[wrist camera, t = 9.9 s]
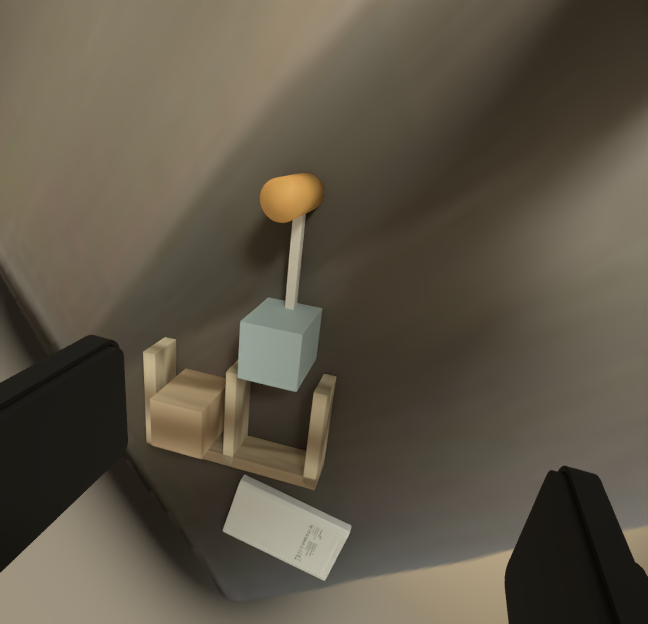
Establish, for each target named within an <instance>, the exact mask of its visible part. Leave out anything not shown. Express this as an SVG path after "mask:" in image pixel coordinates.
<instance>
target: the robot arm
mask: <svg viewBox="0 0 648 624" xmlns="http://www.w3.org/2000/svg"><path fill="white" fill-rule="evenodd" d="M127 444H128V434H127V413H126V392H125V371H124V355H123V351H122V350H121V349H119V345H118V344H117V342H115V341H114V340H110V339H106V338H103V337H99V336H96V335H89V336H86V337H84V338H82V339H80V340H78V341H77V342H75V343H73V344H71V345H69V346H67V347H66V348H64V349H62V350H60V351H58V352H56V353H54V354H53V355H51V356H49V357H47V358H46V359H43V360H42V361H40V362H38V363H36V364H34V365H32V366H31V367H29V368H27V369H25V370H23V371H21V372H19V373H18V374H16V375H14V376H12V377H10V378H9V379H7V380H5V381H3V382H1V383H0V572H2V571H3V569H5V568H6V567H7V566H8V565H9V564H10V563H11V562H12V561H13V560H14V559H15V558H16V557H17V556H18V555H19V554H20V553H21V552H22V551H23V550H24V549H26V548H27V546H28V545H30V544H31V543H32V542H33V541H34V540H35V539H36V538H37V537H38V536H39V535H40V534H41V533H42V532H43V531H44V530H45V529H46V528H47V527H48V526H50V525H51V523H53V522H54V521H55V520H56V519H57V518H58V517H59V516H60V515H61V514H62V513H63V512H64V511H65V510H66V509H67V508H68V507H69V506H70V505H71V504H72V503H74V502H75V501H76V500H77V499H78V498H79V497H80V496H81V495H82V494H83V493H84V492H85V491H86V490H87V489H88V488H89V487H90V486H91V485H92V484H93V483H94V482H95V481H96V480H98V478H100V476H102V474H104V473H105V472H106V471H107V470H108V469H109V468H110V467H111V466H112V465H113V464H114V463H115V462H116V461H117V460H118V459H119V458H120V457H121V456H122V455H123V454H124V452H125V450H126V448H127ZM505 593H506V602H507V611H508V620H509V624H648V576H647V575H646V573H645V571H644V570H643V568H642V567H641V566H640V565H638V564H637V563H635V561H634V559H633V556H632V554H631V552H630V549H629V547H628V544H627V542H626V539H625V537H624V535H623V532H622V530H621V528H620V525H619V523H618V520H617V518H616V516H615V513H614V511H613V508H612V506H611V504H610V501H609V499H608V497H607V494H606V492H605V489H604V487H603V485H602V482H601V480H600V478H599V477H598V476H597V475H596V474H593V473H589V472H586V471H582V470H578V469H575V468H571V467H568V466H562V467H561V468H560V469H559V471H558V472H557V471H553V470H550V471H549V472H548V474H547V475H546V478H545V480H544V482H543V484H542V487H541V489H540V491H539V494H538V496H537V498H536V500H535V503H534V505H533V507H532V510H531V512H530V514H529V516H528V519H527V521H526V523H525V526H524V528H523V530H522V532H521V535H520V537H519V539H518V542H517V544H516V546H515V548H514V551H513V553H512V555H511V558H510V560H509V562H508V565H507V568H506V572H505Z"/></svg>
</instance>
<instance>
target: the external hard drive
mask: <svg viewBox="0 0 648 624" xmlns="http://www.w3.org/2000/svg"><path fill="white" fill-rule="evenodd" d="M350 531H351V525H349V524H347V523H345V522H343V521H341V520H339V519H337V518H335V517H332V516H330V515H328V514H326V513H324V512H322V511H320V510H318V509H316V508H314V507H312V506H310V505H307V504H305V503H303V502H301V501H299V500H297V499H295V498H293V497H291V496H289V495H287V494H285V493H282V492H280V491H278V490H276V489H274V488H272V487H270V486H268V485H266V484H264V483H262V482H260V481H258V480H256V479H253V478H251V477H249V476H247V475H245V474H244V475H243V477H242V479H241V480H240V483H239V486H238V488H237V491H236V494H235V497H234V500H233V502H232V505H231V508H230V511H229V514H228V517H227V519H226V522H225V525H224V528H223V532H225V533H227V534H229V535H231V536H233V537H235V538H237V539H239V540H241V541H243V542H245V543H247V544H249V545H252V546H254V547H256V548H258V549H260V550H262V551H264V552H266V553H268V554H270V555H272V556H274V557H276V558H278V559H280V560H282V561H284V562H286V563H288V564H291V565H293V566H295V567H297V568H299V569H301V570H303V571H305V572H307V573H309V574H311V575H313V576H315V577H317V578H319V579H321V580H323V581H325V580H326V578H327V576H328V574H329V572H330V570H331V568H332V566H333V564H334V562H335V560H336V559H337V557H338V555H339V553H340V551H341V549H342V547H343V545H344V543H345V541H346V540H347V538H348V536H349V533H350Z"/></svg>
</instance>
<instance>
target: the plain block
mask: <svg viewBox="0 0 648 624" xmlns="http://www.w3.org/2000/svg"><path fill="white" fill-rule="evenodd" d="M225 391H226V378H223V377H219V376H215V375H211V374H206V373H202V372H198V371H194V370H190V369H184V370H183V371H182V372H181V373H180V374H179V375H177V376H176V377H175V378H174V379H173V380H172V381H170V382H169V383H168V384H167V385H166V386H165V387H163V388H162V389H161V390H160V391H159V392H158V393H156V394H155V395H154V396H153V397H152V398H151V399H150V414H151V443H152V446H156V447H159V448H163V449H167V450H170V451H174V452H177V453H181V454H184V455H188V456H191V457H195V458H199V459H202V458H203V456H204V455H205V454H206V452H207V451H208V450H209V449H210V447H211V446H212V445H213V443H214V442H215V441H216V440H217V438H218V437H219V436H220V434H221V433H222V432H223V430H224V416H225Z"/></svg>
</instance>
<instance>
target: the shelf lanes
mask: <svg viewBox="0 0 648 624" xmlns="http://www.w3.org/2000/svg"><path fill="white" fill-rule="evenodd" d="M143 357H144V384H145V410H146V436H147V443H149V444H152V443H151V414H150V399H151V398H152V397H153V396H154V395H155V394H156V393H158V392H159V391H160V390H161V389H162V388H163V387H165V386H166V385H167V384H168V383H169V382H170V381H172V380H173V379H174V378H175V377H176V339H172V338H167V337H164V338H163V339H161V340H160V341H159V342H157V343H156V344H154V345H153V346H151V347H150V348H148V349H147V350H145V351H144V352H143ZM336 377H337V376H333V375H328V374H323V376H322V378H321V380H320V382H319V384H318V386H317V387H316V389H315V391H314V395H313V403H312V411H311V419H310V427H309V435H308V443H307V451H305V450H301V449H297V448H293V447H290V446H286V445H282V444H278V443H274V442H271V441H267V440H263V439H259V438H256V437H252V436H248V420H249V404H250V389H251V381H248V380H244V379H240V378H238V360H237V361H236V362H235V363H234V364H233V365H232V366H231V367H230V368H229V369H228V370H227V371H226V391H225V416H224V430H223V432H222V433H221V434H220V436H219V437H218V438H217V440H216V441H215V442H214V443H213V445H212V446H211V447H210V449H209V450H208V451H207V452H206V454H205V455H204V456H203V458H202V459H205V460H209V461H213V462H216V463H220V464H223V465H227V466H230V467H234V468H237V469H241V470H245V471H248V472H252V473H255V474H259V475H262V476H266V477H269V478H273V479H276V480H280V481H284V482H287V483H291V484H294V485H298V486H301V487H305V488H308V489H312V490H315V487H316V485H317V482H318V479H319V477H320V474H321V471H322V469H323V466H324V460H325V453H326V446H327V440H328V433H329V426H330V419H331V412H332V405H333V398H334V391H335V384H336Z"/></svg>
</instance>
